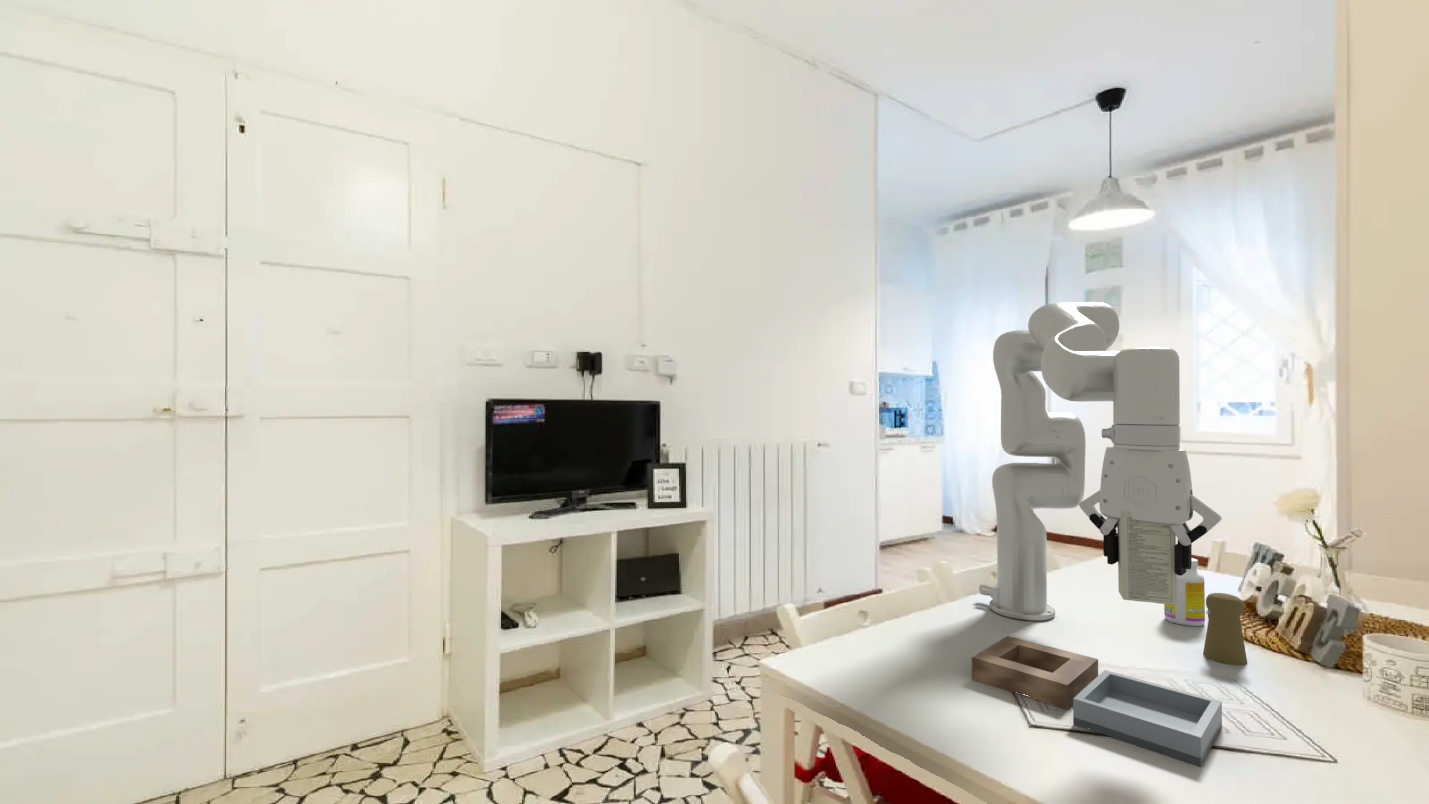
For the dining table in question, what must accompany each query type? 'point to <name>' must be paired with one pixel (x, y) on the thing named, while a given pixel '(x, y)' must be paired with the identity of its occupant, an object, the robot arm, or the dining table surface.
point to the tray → (1150, 716)
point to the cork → (1225, 630)
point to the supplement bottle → (1188, 599)
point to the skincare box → (1146, 561)
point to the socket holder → (1035, 670)
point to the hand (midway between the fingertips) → (1146, 567)
